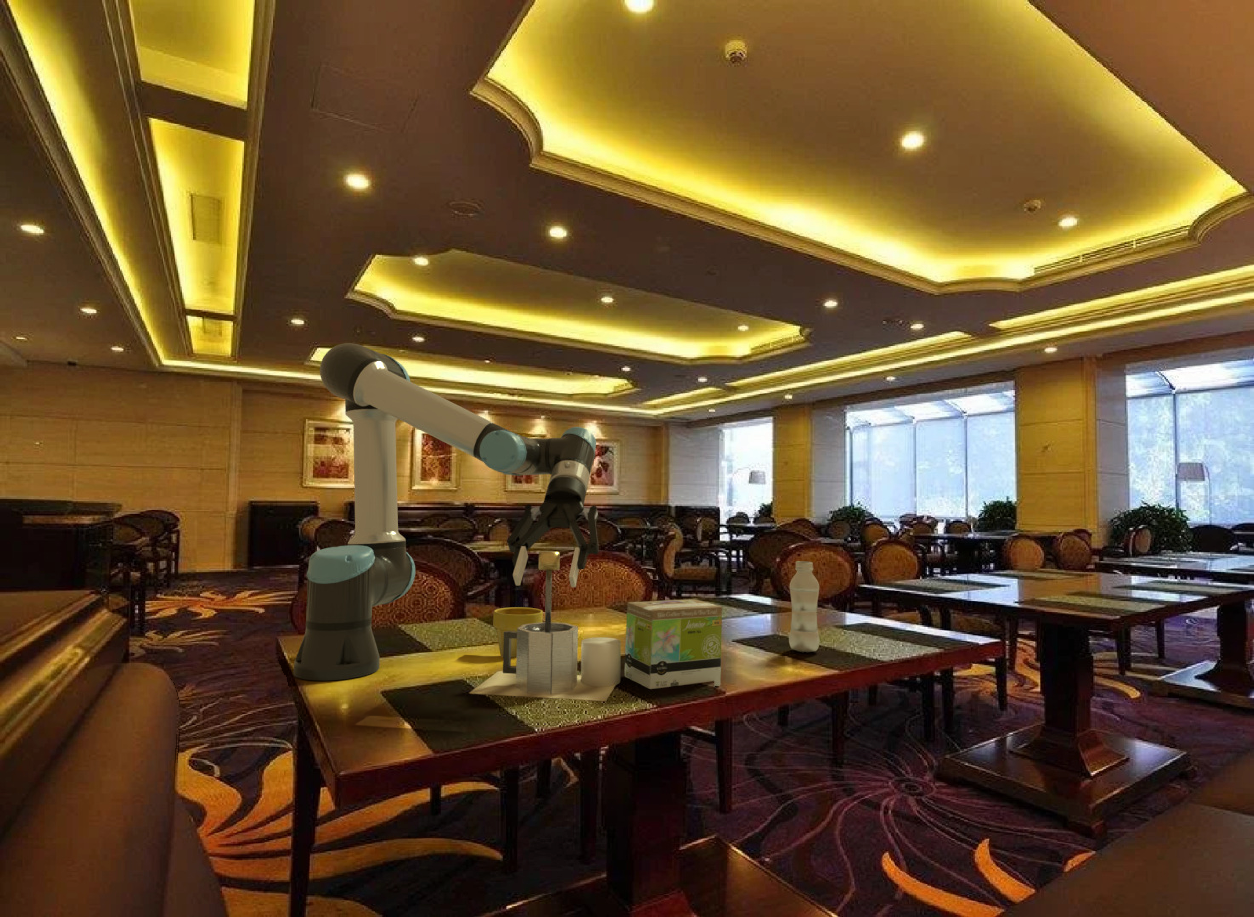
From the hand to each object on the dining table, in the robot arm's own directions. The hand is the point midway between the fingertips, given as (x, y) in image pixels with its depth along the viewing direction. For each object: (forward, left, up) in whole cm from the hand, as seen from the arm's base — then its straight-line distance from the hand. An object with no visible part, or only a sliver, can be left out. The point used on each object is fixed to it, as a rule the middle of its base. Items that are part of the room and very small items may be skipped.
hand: (544, 581), depth 116 cm
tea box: (+21, +13, -20) cm, 32 cm away
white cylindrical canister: (+8, +8, -18) cm, 22 cm away
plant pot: (-13, +28, -20) cm, 37 cm away
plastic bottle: (+48, +46, -20) cm, 69 cm away
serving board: (0, +4, -19) cm, 20 cm away
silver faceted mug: (-1, +3, -18) cm, 19 cm away
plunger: (0, +3, -10) cm, 11 cm away
